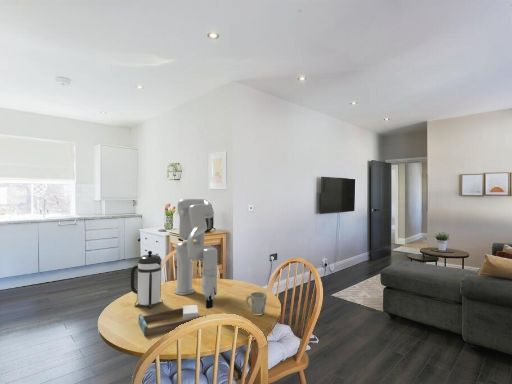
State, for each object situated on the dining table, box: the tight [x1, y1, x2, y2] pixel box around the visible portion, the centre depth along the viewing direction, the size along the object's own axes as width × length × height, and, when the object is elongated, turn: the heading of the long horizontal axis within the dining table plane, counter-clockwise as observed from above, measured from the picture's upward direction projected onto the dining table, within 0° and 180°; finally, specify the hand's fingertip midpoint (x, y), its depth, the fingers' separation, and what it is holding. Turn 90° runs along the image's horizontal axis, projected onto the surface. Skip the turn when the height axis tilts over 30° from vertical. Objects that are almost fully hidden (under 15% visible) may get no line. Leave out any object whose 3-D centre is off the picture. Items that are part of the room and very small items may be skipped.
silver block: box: [182, 304, 199, 320], centre depth 143 cm, size 10×7×5 cm
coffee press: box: [130, 250, 163, 310], centre depth 161 cm, size 17×16×30 cm
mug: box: [245, 291, 268, 314], centre depth 151 cm, size 8×13×10 cm, turn 58°
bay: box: [138, 307, 206, 337], centre depth 138 cm, size 15×28×4 cm, turn 122°
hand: (209, 307), depth 148 cm, fingers closed
